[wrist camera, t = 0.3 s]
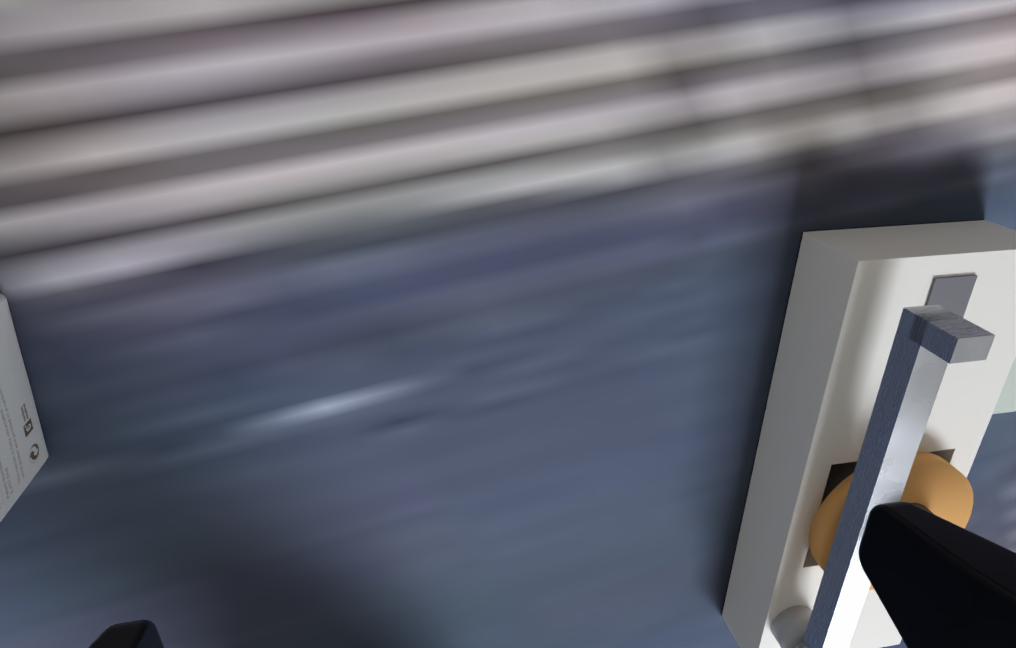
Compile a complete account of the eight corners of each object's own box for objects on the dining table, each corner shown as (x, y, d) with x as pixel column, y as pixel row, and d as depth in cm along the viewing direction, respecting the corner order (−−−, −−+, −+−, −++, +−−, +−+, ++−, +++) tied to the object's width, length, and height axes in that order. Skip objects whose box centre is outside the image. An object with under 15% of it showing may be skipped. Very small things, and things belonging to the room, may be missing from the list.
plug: (875, 508, 31) (1025, 659, 24) (751, 526, 30) (869, 689, 22) (913, 394, 28) (1096, 527, 21) (777, 410, 27) (922, 555, 20)
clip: (828, 663, 27) (861, 710, 26) (785, 671, 27) (815, 719, 25) (949, 303, 20) (1007, 333, 18) (892, 308, 20) (945, 340, 18)
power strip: (858, 593, 33) (918, 667, 30) (721, 616, 32) (766, 695, 28) (985, 220, 24) (1094, 258, 21) (803, 231, 23) (884, 275, 19)
